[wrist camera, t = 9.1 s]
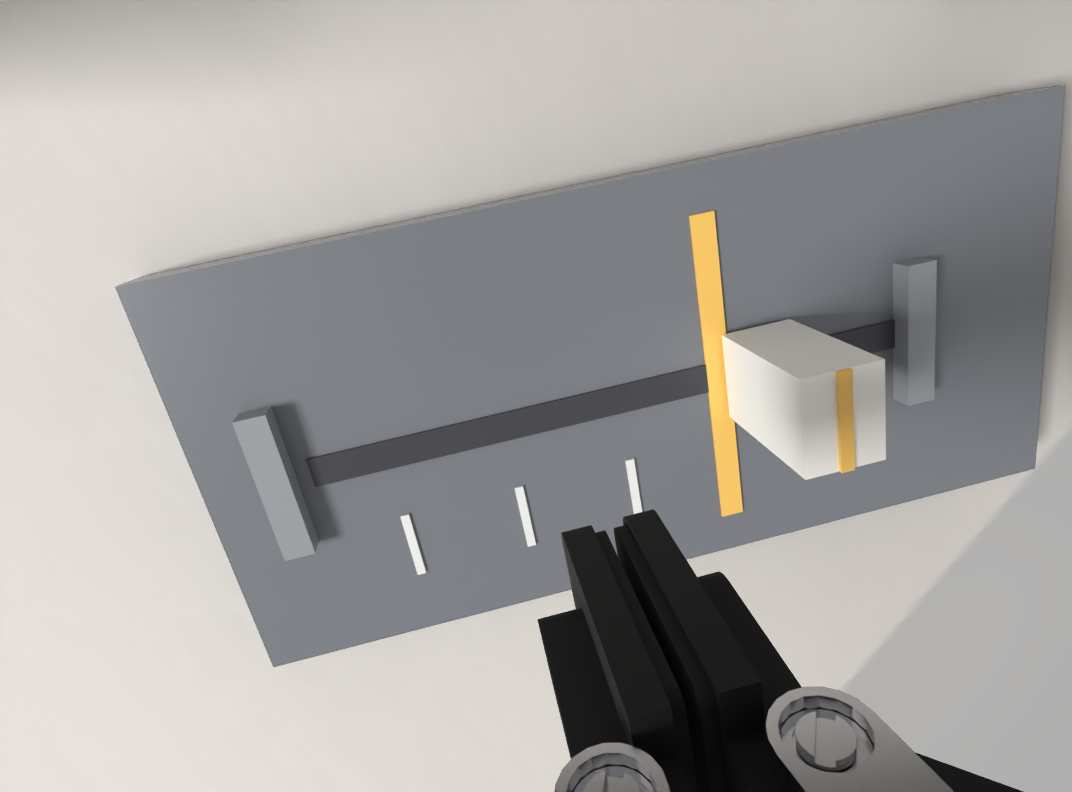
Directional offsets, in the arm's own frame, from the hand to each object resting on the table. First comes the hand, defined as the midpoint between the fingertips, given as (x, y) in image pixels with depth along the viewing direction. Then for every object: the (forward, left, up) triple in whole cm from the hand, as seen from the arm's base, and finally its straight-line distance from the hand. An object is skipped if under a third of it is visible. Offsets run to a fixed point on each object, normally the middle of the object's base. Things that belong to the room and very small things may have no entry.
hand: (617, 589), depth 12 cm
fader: (+1, +8, -11) cm, 13 cm away
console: (+1, +4, -13) cm, 14 cm away
